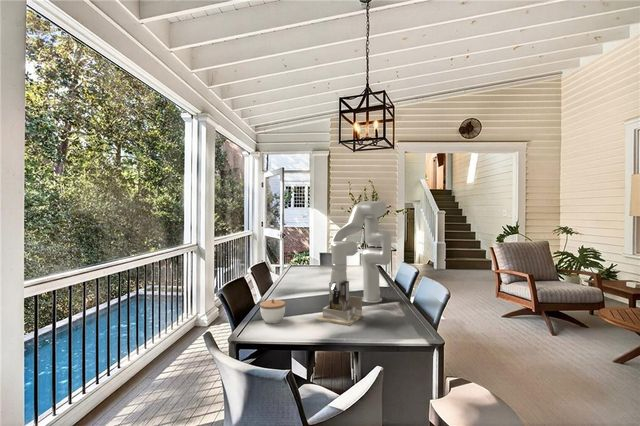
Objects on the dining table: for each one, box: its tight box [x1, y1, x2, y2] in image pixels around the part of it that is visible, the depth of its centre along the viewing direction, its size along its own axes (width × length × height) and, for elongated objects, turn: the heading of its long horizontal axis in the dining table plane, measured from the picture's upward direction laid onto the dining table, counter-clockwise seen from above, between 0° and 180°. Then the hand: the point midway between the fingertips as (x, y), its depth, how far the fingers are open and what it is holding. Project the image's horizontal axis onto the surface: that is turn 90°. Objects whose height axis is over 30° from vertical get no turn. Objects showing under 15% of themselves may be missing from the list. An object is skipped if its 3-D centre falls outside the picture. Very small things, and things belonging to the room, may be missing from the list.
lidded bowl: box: [259, 298, 286, 324], centre depth 180 cm, size 13×13×11 cm
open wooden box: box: [315, 295, 363, 327], centre depth 184 cm, size 16×18×10 cm
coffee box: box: [328, 280, 350, 312], centre depth 184 cm, size 9×6×16 cm
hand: (339, 301), depth 184 cm, fingers closed on coffee box, 7 cm apart
